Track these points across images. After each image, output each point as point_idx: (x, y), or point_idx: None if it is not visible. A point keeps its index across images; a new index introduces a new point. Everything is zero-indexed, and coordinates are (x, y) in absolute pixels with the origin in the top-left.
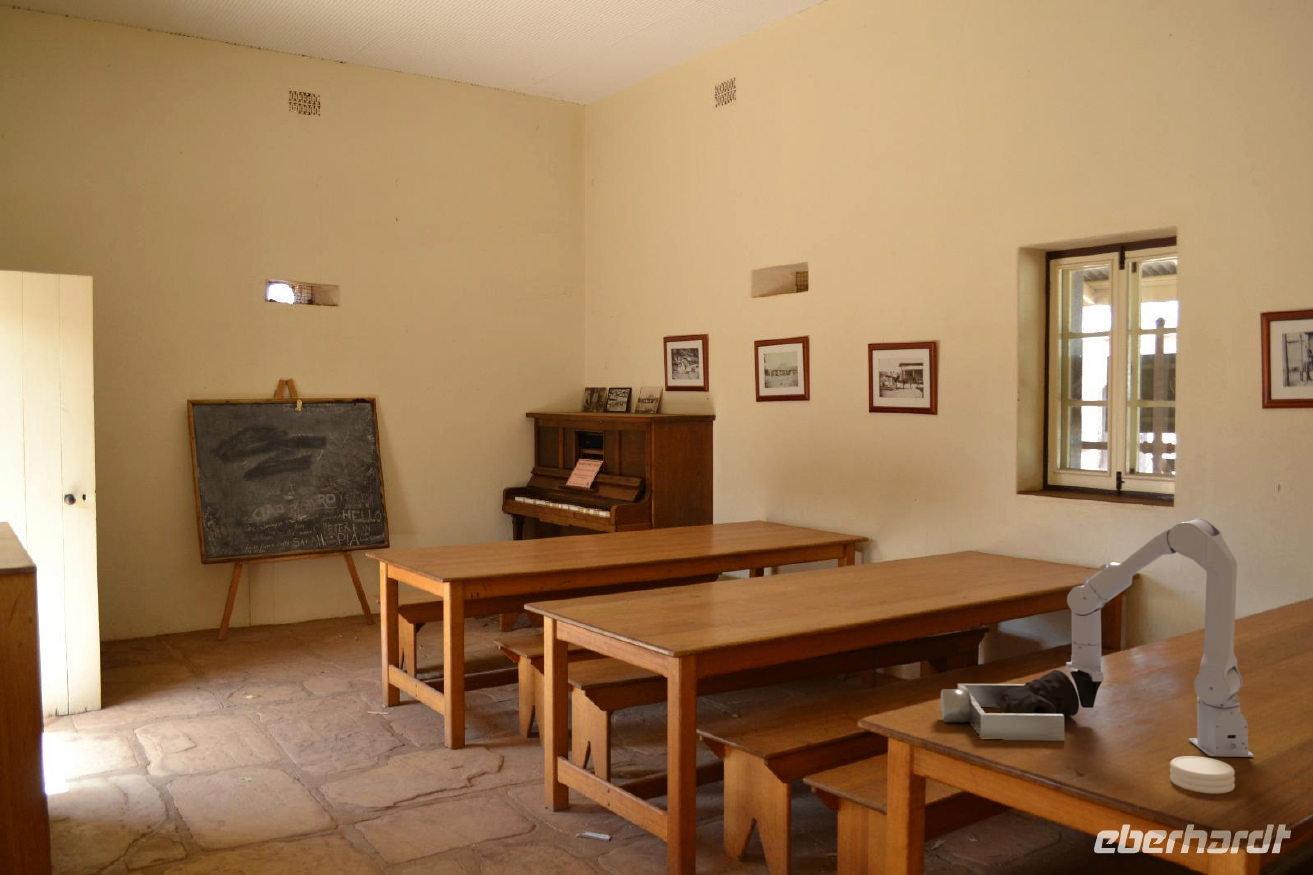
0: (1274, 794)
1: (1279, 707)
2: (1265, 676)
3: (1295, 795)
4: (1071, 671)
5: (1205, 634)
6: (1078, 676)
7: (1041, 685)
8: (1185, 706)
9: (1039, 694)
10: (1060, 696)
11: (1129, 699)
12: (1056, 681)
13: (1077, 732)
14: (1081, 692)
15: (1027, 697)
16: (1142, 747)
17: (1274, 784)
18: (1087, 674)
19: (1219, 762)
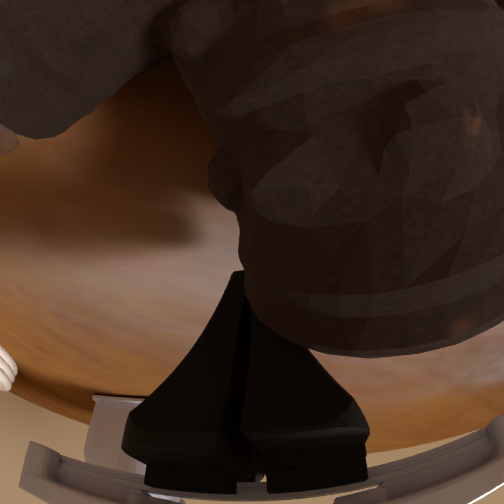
0: (16, 388)
1: (378, 446)
2: (480, 420)
3: (28, 399)
4: (356, 432)
5: None
6: (121, 445)
7: (308, 17)
8: (407, 402)
9: (185, 3)
10: (210, 185)
11: (475, 341)
12: (352, 220)
13: (108, 193)
14: (199, 338)
15: None
16: (73, 331)
17: (43, 400)
18: (147, 481)
19: (2, 387)
